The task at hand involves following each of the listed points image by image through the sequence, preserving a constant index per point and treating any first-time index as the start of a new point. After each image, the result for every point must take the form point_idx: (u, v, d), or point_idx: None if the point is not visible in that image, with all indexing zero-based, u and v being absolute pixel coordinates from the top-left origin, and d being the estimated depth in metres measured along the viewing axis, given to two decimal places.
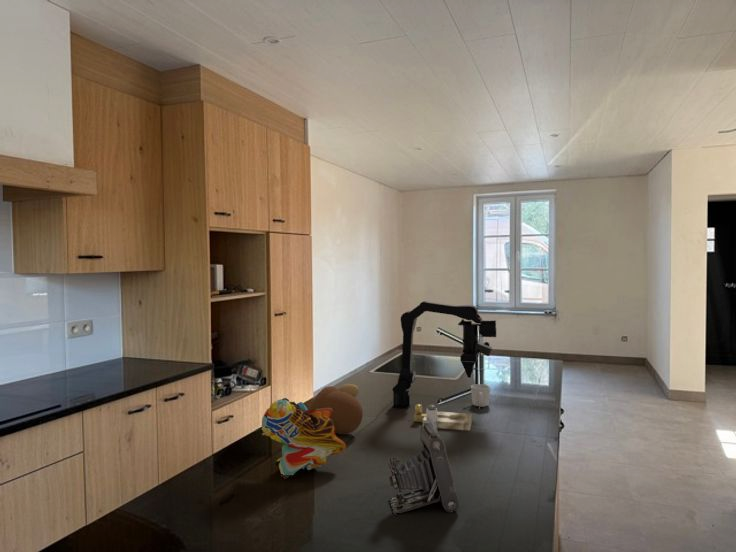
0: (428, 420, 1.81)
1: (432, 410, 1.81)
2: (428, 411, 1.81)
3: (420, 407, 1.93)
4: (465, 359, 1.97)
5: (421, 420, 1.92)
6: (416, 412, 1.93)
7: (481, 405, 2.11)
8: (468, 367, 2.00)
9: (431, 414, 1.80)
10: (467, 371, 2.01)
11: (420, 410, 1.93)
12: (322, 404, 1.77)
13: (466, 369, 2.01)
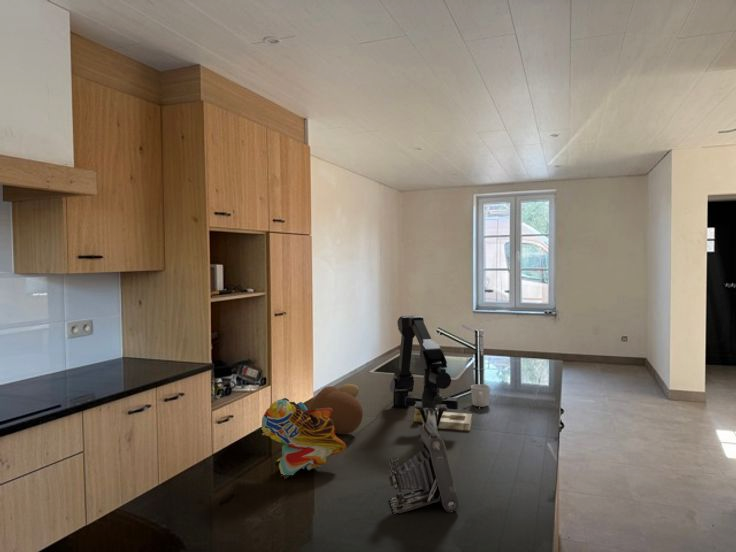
0: (428, 420, 1.81)
1: (432, 410, 1.81)
2: (428, 411, 1.81)
3: None
4: None
5: (421, 420, 1.92)
6: (416, 412, 1.93)
7: (481, 405, 2.11)
8: None
9: (431, 414, 1.80)
10: None
11: None
12: (322, 404, 1.77)
13: None
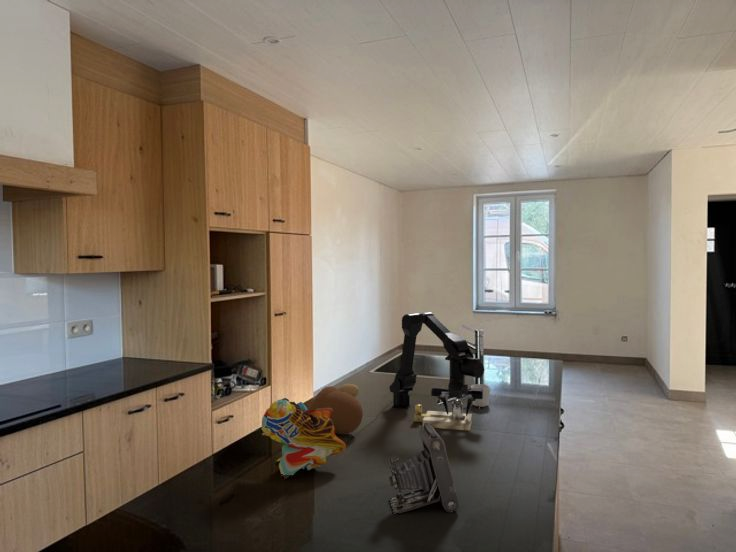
0: (454, 413, 1.88)
1: (458, 404, 1.88)
2: (454, 405, 1.88)
3: (420, 407, 1.93)
4: None
5: (421, 420, 1.92)
6: (416, 412, 1.93)
7: (481, 405, 2.11)
8: None
9: (457, 408, 1.88)
10: None
11: (420, 410, 1.93)
12: (322, 404, 1.77)
13: None
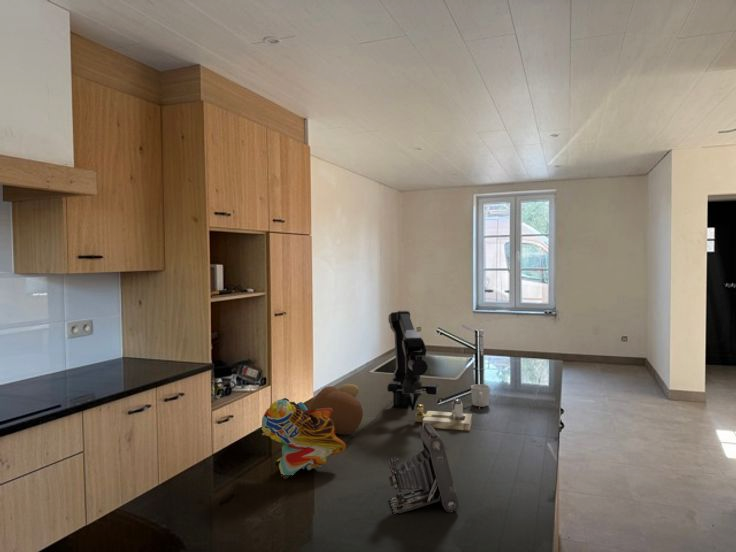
0: (454, 413, 1.88)
1: (458, 404, 1.88)
2: (454, 405, 1.88)
3: (421, 407, 1.92)
4: None
5: (422, 420, 1.92)
6: (417, 412, 1.93)
7: (481, 405, 2.11)
8: None
9: (457, 408, 1.88)
10: None
11: (421, 410, 1.93)
12: (322, 404, 1.77)
13: None
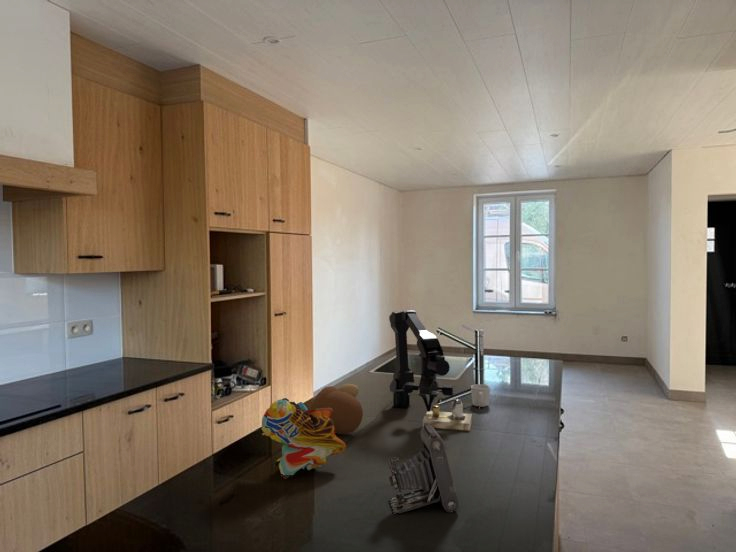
0: (454, 413, 1.88)
1: (458, 404, 1.88)
2: (454, 405, 1.88)
3: (437, 408, 1.91)
4: None
5: None
6: (433, 413, 1.91)
7: (481, 405, 2.11)
8: None
9: (457, 408, 1.88)
10: None
11: (437, 411, 1.91)
12: (322, 404, 1.77)
13: None
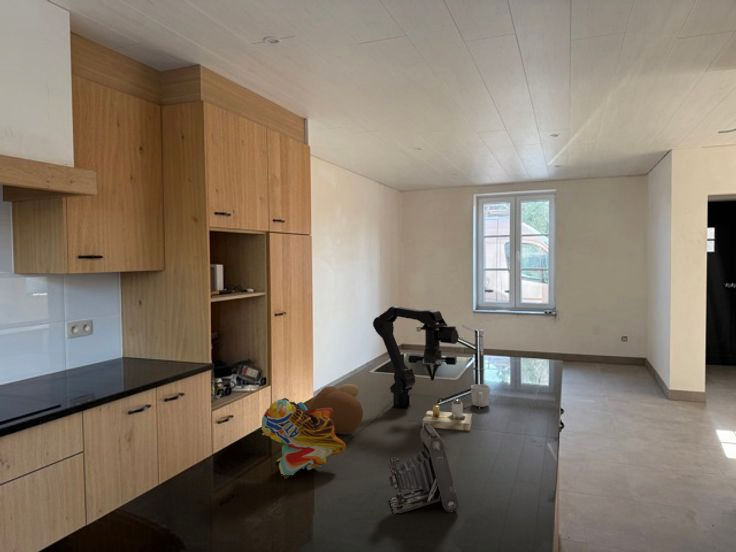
0: (454, 413, 1.88)
1: (458, 404, 1.88)
2: (454, 405, 1.88)
3: (438, 408, 1.91)
4: None
5: None
6: (434, 413, 1.91)
7: (481, 405, 2.11)
8: None
9: (457, 408, 1.88)
10: None
11: (438, 411, 1.91)
12: (322, 404, 1.77)
13: None
